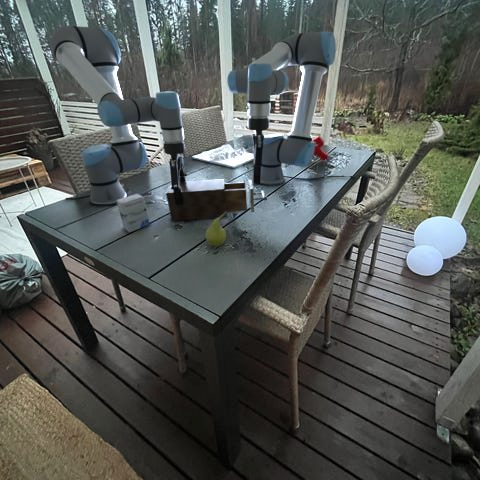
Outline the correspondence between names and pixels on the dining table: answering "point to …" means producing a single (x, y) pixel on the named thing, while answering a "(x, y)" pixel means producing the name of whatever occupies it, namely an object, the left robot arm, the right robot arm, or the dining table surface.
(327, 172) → the dining table surface
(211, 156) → the relief map
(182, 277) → the dining table surface
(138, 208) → the ink box
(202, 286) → the dining table surface
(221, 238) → the fruit
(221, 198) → the cabinet
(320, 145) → the toy gun
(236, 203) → the drawer
